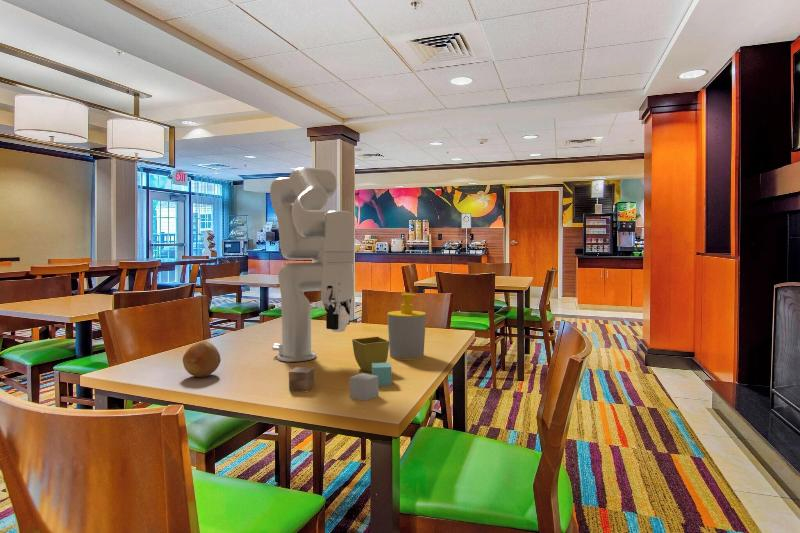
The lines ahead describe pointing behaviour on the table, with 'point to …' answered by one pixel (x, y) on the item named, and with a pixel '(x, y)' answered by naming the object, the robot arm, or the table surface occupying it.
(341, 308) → the muffin
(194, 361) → the onion
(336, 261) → the robot arm
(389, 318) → the soap bottle
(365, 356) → the flower pot
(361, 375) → the grey cube
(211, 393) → the table surface
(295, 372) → the walnut cube
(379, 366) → the teal cube
